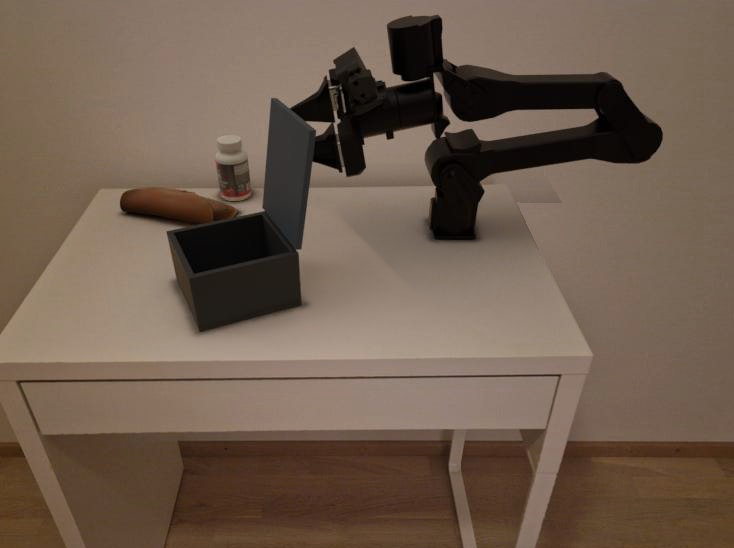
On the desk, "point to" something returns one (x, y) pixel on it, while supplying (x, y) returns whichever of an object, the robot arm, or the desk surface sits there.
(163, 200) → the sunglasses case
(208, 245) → the desk case
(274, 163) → the cover
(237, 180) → the pill bottle
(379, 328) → the desk surface
